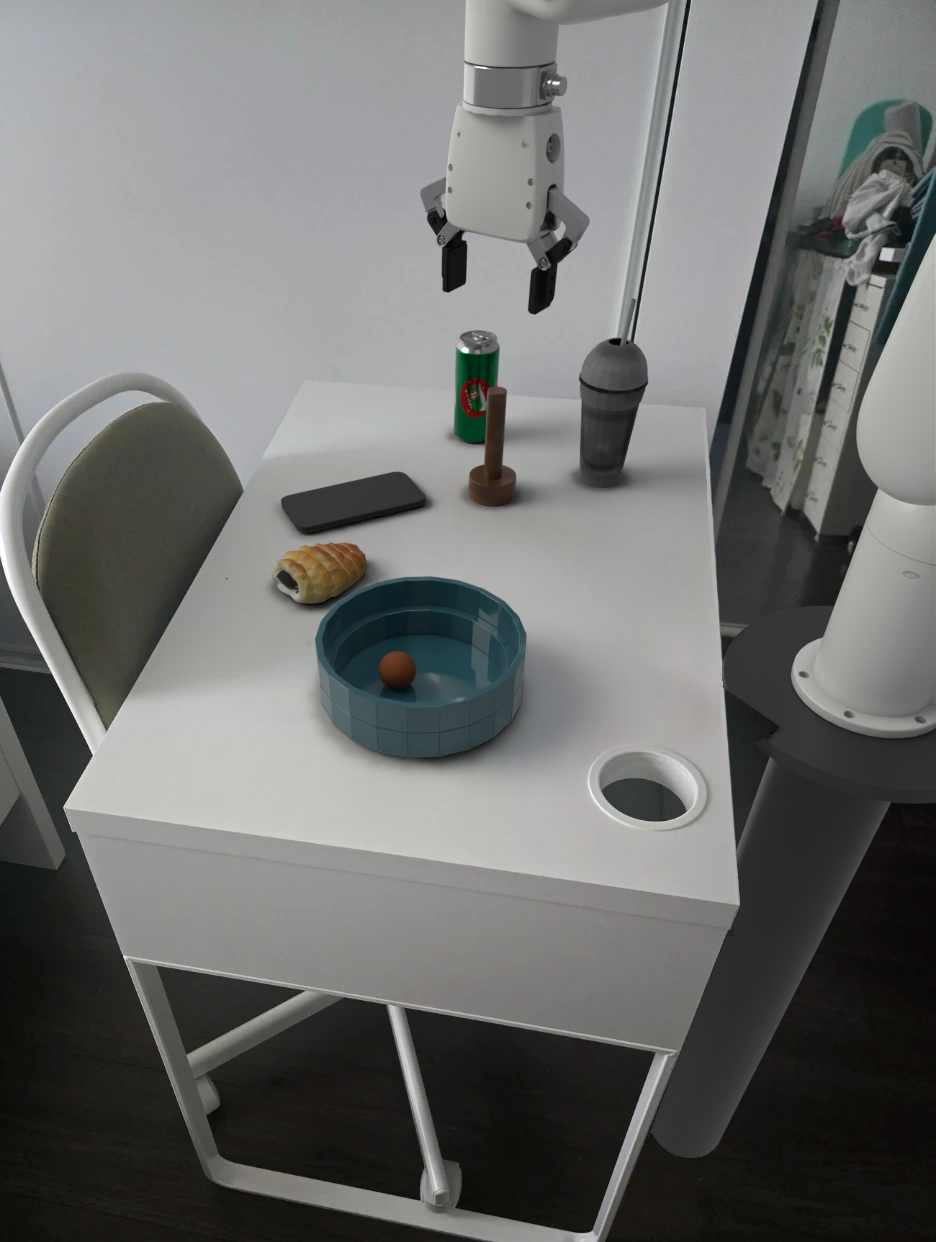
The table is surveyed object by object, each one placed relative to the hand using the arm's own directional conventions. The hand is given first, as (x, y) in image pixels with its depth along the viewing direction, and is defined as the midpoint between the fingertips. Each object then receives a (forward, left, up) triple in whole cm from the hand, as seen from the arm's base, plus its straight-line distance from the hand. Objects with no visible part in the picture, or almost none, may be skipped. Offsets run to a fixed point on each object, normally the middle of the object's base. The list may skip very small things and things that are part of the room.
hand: (495, 298), depth 90 cm
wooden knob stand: (-1, -1, -21) cm, 21 cm away
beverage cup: (-13, -6, -22) cm, 26 cm away
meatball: (+5, +33, -19) cm, 39 cm away
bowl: (+3, +33, -21) cm, 40 cm away
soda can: (+2, -15, -22) cm, 26 cm away
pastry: (+15, +18, -22) cm, 32 cm away
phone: (+14, +3, -21) cm, 26 cm away
